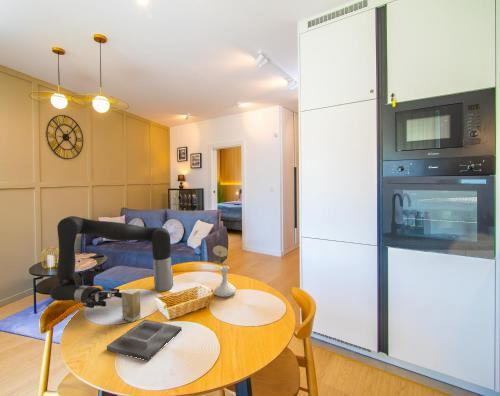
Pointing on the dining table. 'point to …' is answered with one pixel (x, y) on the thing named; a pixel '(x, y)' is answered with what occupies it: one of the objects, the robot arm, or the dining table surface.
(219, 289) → the flower in vase
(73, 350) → the dining table surface
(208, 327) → the dining table surface
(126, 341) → the holder board
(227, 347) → the dining table surface
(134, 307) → the skincare box
